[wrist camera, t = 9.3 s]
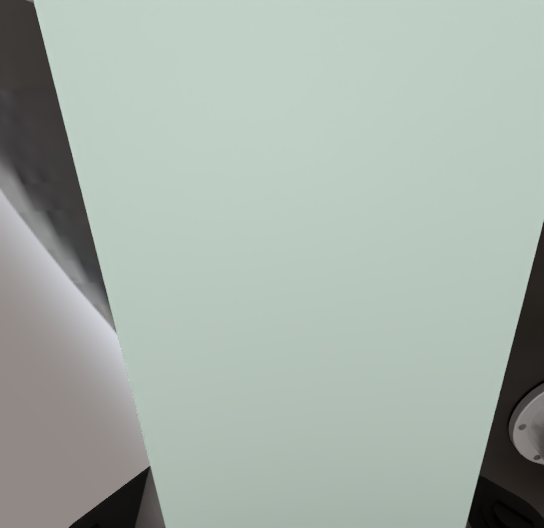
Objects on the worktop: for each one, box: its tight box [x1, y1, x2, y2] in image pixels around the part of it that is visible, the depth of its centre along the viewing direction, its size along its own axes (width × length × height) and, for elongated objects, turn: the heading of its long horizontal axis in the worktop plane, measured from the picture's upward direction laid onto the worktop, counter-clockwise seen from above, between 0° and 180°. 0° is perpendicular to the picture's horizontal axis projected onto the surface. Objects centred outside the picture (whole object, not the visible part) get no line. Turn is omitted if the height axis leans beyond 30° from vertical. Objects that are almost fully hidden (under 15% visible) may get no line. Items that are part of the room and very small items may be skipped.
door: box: [34, 0, 544, 528], centre depth 11 cm, size 4×18×12 cm, turn 3°
